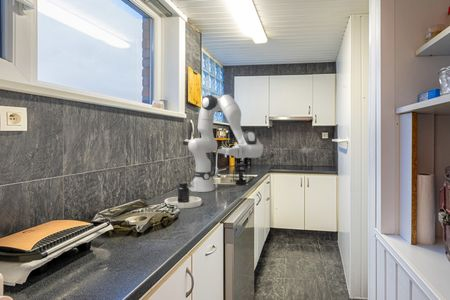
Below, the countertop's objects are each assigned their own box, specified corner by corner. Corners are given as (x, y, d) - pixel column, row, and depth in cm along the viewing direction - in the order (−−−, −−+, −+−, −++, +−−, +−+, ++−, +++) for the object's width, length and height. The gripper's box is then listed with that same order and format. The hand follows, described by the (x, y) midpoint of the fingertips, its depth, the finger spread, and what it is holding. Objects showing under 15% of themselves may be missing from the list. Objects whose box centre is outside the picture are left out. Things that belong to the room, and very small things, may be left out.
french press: (248, 183, 278) (248, 156, 277) (246, 185, 269) (246, 157, 268) (234, 183, 281) (234, 156, 280) (232, 184, 271) (232, 157, 270)
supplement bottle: (175, 203, 194) (175, 182, 193) (185, 201, 198) (185, 181, 197) (181, 204, 188) (180, 184, 188) (191, 203, 192) (191, 183, 192)
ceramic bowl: (160, 203, 197) (160, 198, 197) (193, 199, 207) (193, 195, 207) (171, 209, 179) (171, 204, 179) (206, 206, 188) (206, 200, 188)
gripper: (234, 145, 216) (213, 145, 213) (242, 146, 196) (219, 146, 193) (234, 155, 216) (214, 155, 214) (242, 157, 196) (219, 157, 194)
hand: (216, 151), depth 203 cm, fingers open, 8 cm apart
